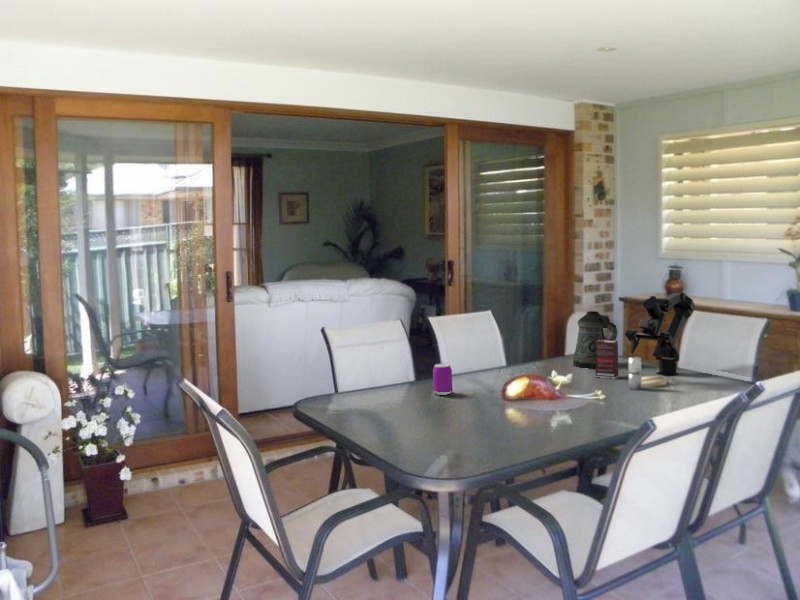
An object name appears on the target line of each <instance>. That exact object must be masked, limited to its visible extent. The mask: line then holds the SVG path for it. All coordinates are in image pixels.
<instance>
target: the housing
mask: <svg viewBox="0 0 800 600" xmlns="http://www.w3.org/2000/svg"><path fill="white" fill-rule="evenodd" d="M627 364H628V365H627V366H628V367H627V369H628V370H627V371H628V373H627V374H628V375H627V377H628V378H627V379H628V381H627V382H628V383H627V384H628V387H627V389H628V388H629V389H628V390H630V389H632V390H631V391H640V390H639V389H641V390H642V386H641V376H642V357H640V356H629V357H628V358H627Z"/></svg>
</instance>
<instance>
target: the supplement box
mask: <svg viewBox="0 0 800 600" xmlns="http://www.w3.org/2000/svg"><path fill="white" fill-rule="evenodd" d="M618 341H619V340H615V341H611V340H610V339H605V340H597V341H595V351H596V369H595V378H596V377H600V378H599V379H609V378H611V379H613V380H615V379H618V378H619V342H618Z"/></svg>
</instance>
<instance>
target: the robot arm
mask: <svg viewBox="0 0 800 600" xmlns="http://www.w3.org/2000/svg"><path fill="white" fill-rule="evenodd" d="M642 306H643V308H644V310H645V312H646V315H647V316H649V318H648V319H639V321H638V328H640V329H641V330H640V332H641V333H639V332H638V331H637V329H626V332H625V334H624V335H625V336H626V338H627V340H628V341H629V342H630V353H631V354H634V353H635V351H636V349H637V347H638V346H639V342H640V340H641V339H642V340H649V341H656V345H655V346H654V350H653V352H652V356H653V357H655V360H656V361H659V362H658V371H657V372H656V374H657V375H662V376H667V377H670V376H676V375H679V372H677V363H676V362H679V361H680V357H681V356H680V353H679V350H678V348H677V345H676V343H677V340H678V338H679V335H680V334H681V333H680V332H681V330H682V328H683V325H684V323H685V321H686V320H687V319H688V318H690V317H691V316H692V315H693V312H695V308H696V305H695V302H694V300H693V299H692V298H691V297H690V296H687V295H686V292H684V291H673V292H672V293H670V294H669V295H666V296H665V297H656V296H654V295H652V296H650V297H649V298H647V299H645V300H644V301H643V304H642ZM671 311H673V313H674V315H673V317H672V319H671V322H670V324H669V326H668V328H667V332H664V331H663V329H662V327H663V325H664V322H666V321H667V319H666V314H665V313H670V312H671ZM662 331H663V332H662Z"/></svg>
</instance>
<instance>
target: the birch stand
mask: <svg viewBox="0 0 800 600" xmlns="http://www.w3.org/2000/svg"><path fill="white" fill-rule="evenodd" d="M667 383H668V382H667V378H666V377H664V376H660V375H641V387H643V386H646V387H645V388H660V387H661V386H663V387H666V386H667ZM665 385H666V386H665ZM661 388H662V387H661Z"/></svg>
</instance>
